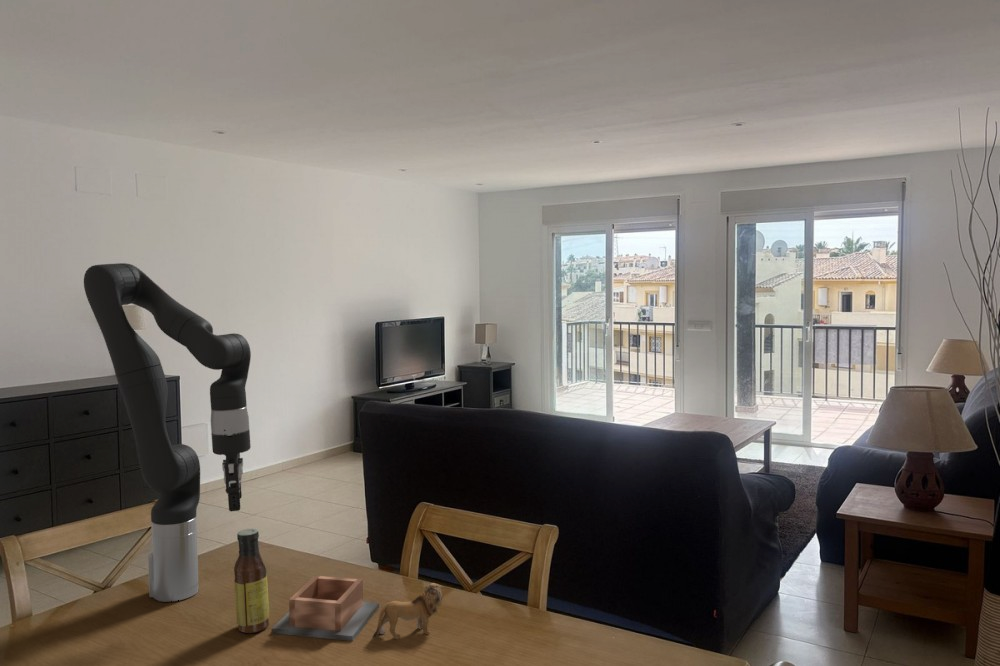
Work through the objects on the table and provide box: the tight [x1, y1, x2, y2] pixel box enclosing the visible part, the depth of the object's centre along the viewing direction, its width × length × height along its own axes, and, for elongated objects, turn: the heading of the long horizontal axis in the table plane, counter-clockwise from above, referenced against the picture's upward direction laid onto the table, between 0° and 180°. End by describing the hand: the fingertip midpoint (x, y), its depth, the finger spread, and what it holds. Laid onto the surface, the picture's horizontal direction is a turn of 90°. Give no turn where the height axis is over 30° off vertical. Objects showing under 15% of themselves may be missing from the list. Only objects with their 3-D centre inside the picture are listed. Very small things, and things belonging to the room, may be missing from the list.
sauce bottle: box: [233, 528, 270, 634], centre depth 145 cm, size 7×6×20 cm
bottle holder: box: [271, 575, 380, 642], centre depth 149 cm, size 17×15×6 cm
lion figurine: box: [371, 582, 444, 640], centre depth 144 cm, size 15×5×9 cm, turn 116°
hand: (235, 504), depth 153 cm, fingers open, 8 cm apart
